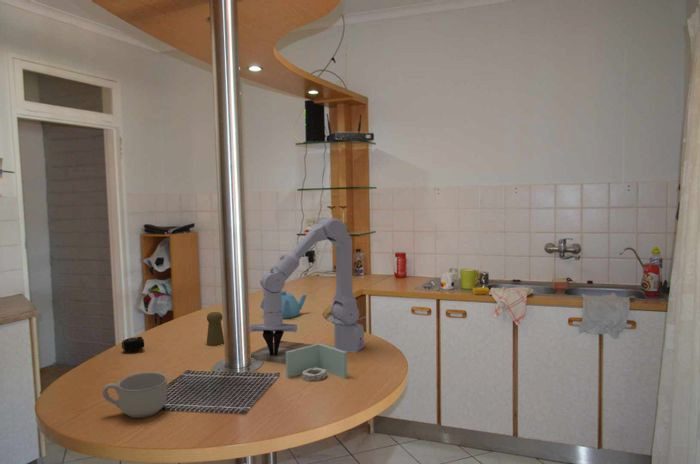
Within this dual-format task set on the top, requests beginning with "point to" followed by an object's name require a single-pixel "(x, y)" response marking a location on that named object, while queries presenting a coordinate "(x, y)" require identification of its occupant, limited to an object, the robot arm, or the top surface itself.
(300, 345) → the walnut floor row
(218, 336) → the brown tall rounded piece
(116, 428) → the top surface
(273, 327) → the robot arm
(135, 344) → the tape measure
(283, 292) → the teapot
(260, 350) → the grey oak plank
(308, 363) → the l-shaped corner panel
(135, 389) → the teacup
